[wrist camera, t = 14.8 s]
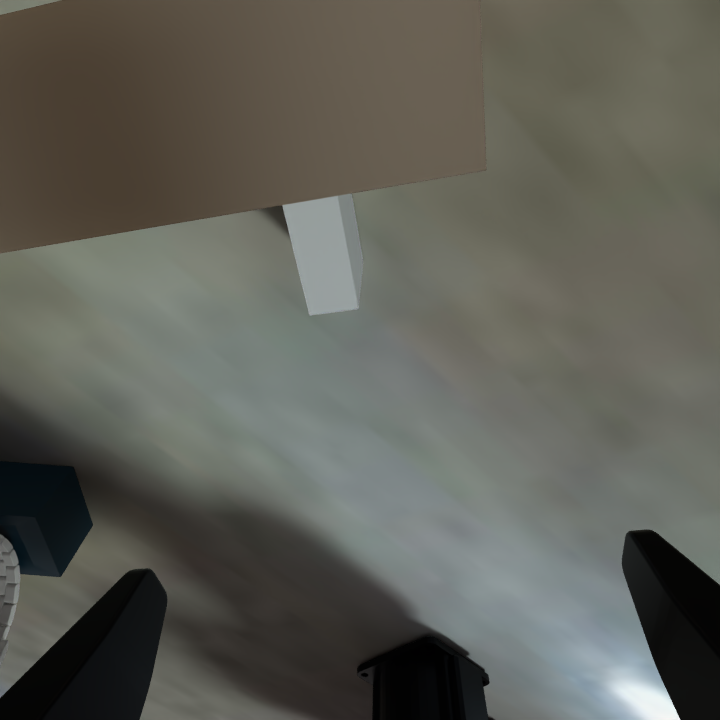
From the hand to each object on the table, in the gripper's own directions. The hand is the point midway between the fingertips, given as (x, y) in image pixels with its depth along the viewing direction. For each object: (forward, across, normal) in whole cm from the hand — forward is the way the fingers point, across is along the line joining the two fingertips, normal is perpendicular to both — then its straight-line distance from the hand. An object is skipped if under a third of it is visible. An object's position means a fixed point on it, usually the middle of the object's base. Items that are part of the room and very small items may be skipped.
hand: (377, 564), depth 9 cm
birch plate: (+11, +1, -8) cm, 14 cm away
